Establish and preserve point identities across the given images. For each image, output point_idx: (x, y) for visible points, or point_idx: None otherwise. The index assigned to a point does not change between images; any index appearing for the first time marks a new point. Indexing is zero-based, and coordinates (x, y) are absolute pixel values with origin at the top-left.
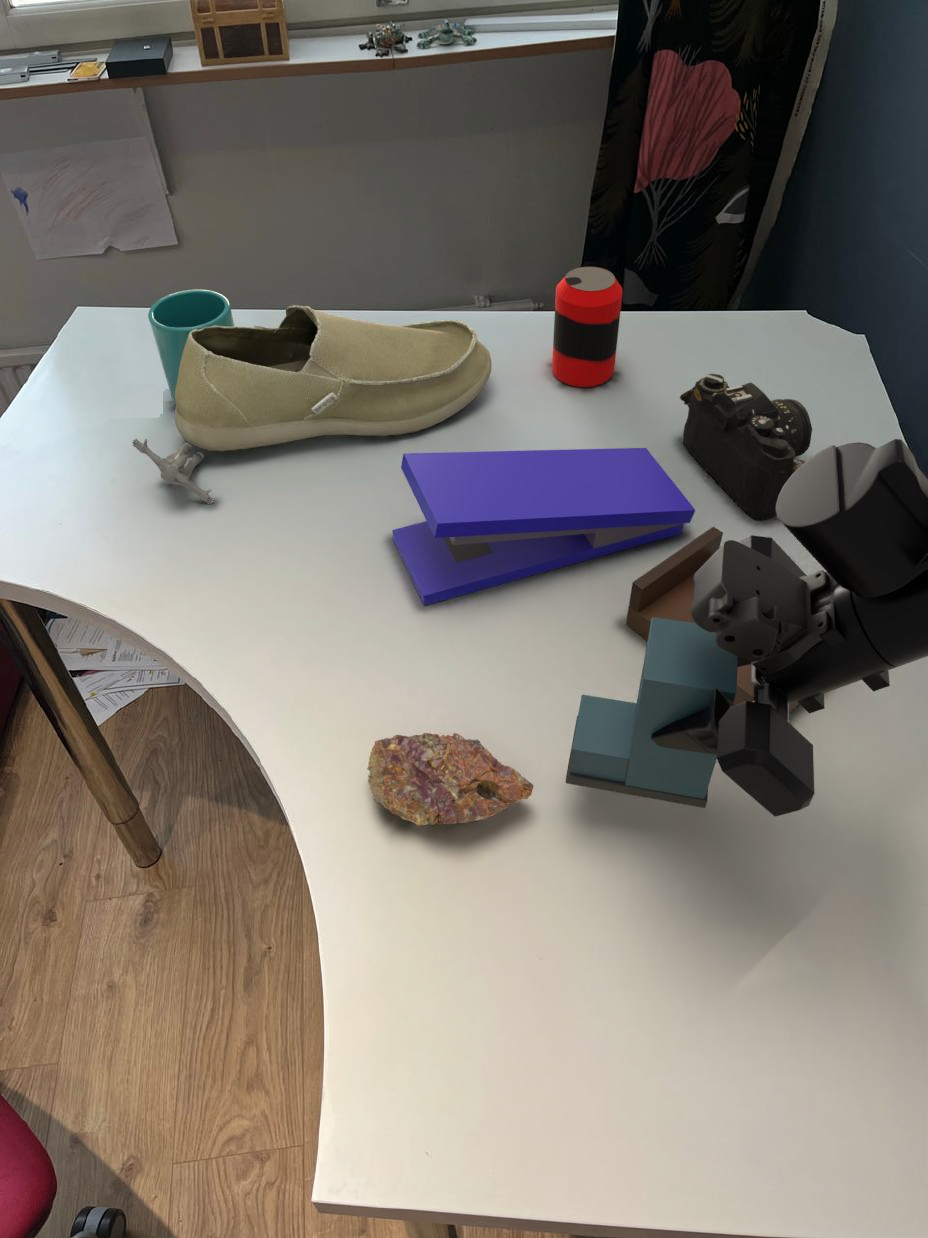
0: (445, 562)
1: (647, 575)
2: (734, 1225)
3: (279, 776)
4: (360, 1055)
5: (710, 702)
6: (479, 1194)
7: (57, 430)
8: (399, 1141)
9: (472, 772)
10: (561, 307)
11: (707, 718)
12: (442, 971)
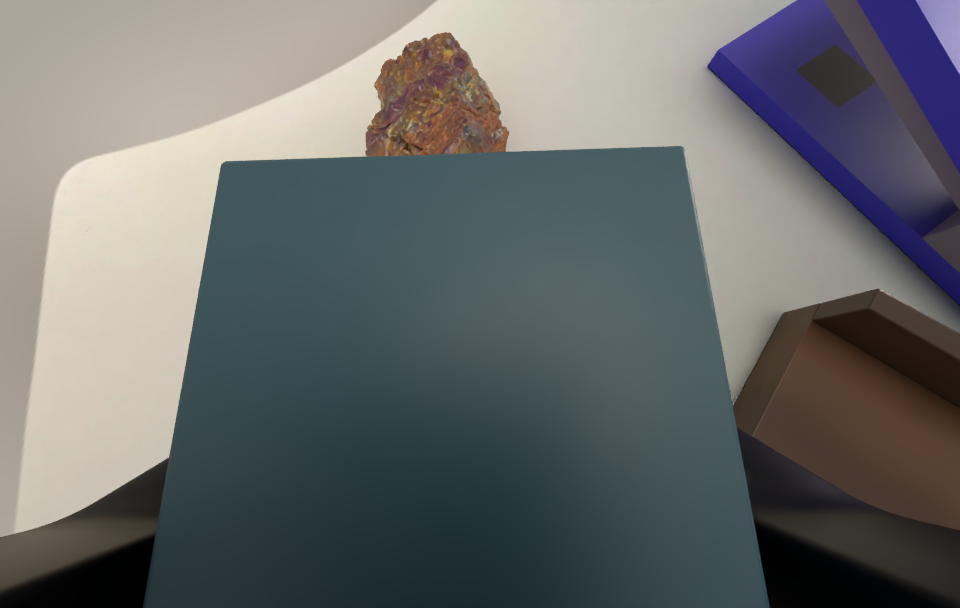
0: (790, 57)
1: (910, 312)
2: (15, 525)
3: (430, 9)
4: (166, 156)
5: (61, 557)
6: (53, 280)
7: None
8: (96, 206)
9: (426, 141)
10: None
11: (93, 524)
12: None
